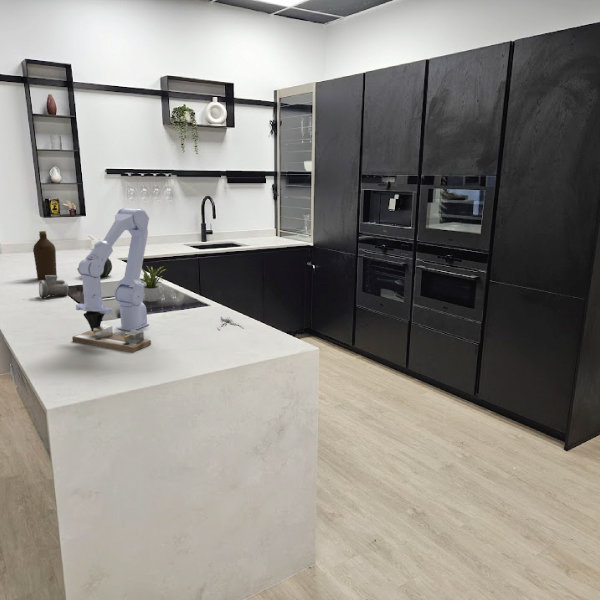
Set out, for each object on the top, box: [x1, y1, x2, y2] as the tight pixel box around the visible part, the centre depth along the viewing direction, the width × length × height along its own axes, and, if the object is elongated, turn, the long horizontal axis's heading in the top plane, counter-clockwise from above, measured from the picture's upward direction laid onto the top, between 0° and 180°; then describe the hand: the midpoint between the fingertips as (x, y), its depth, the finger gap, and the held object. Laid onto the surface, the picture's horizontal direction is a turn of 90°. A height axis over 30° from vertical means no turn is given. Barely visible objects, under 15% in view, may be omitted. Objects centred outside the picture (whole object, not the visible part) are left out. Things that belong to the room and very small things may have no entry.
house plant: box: [140, 265, 168, 303], centre depth 235 cm, size 14×14×16 cm
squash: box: [84, 256, 113, 278], centre depth 285 cm, size 14×15×15 cm
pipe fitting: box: [38, 275, 70, 299], centre depth 240 cm, size 12×8×10 cm
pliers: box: [216, 315, 245, 331], centre depth 203 cm, size 10×2×15 cm
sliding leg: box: [92, 324, 114, 338], centre depth 180 cm, size 7×4×3 cm, turn 157°
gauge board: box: [72, 329, 152, 353], centre depth 178 cm, size 9×26×4 cm, turn 67°
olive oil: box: [32, 230, 58, 281], centre depth 277 cm, size 11×11×25 cm
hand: (95, 332), depth 182 cm, fingers closed
